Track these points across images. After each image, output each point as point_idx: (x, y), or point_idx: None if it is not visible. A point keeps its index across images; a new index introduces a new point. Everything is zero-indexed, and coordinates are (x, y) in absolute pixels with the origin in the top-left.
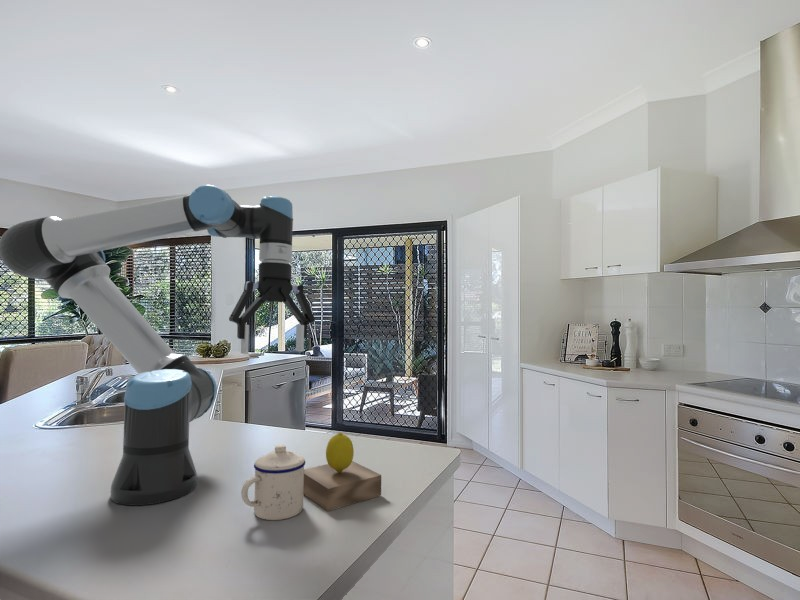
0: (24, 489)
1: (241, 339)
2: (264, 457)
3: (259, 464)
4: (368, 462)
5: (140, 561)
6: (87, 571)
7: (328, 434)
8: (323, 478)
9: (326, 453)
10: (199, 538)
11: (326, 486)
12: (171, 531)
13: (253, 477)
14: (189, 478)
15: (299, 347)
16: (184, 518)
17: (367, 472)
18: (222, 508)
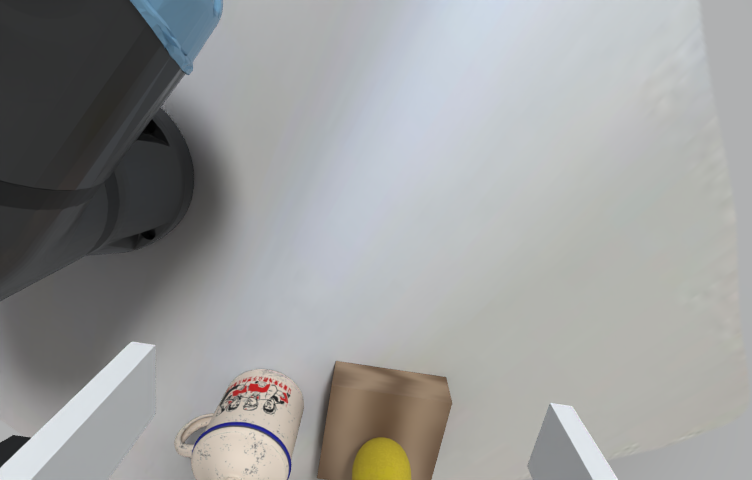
0: None
1: (59, 417)
2: (207, 464)
3: (192, 469)
4: (547, 341)
5: (60, 401)
6: (2, 382)
7: (701, 60)
8: (340, 442)
9: (354, 466)
10: None
11: (320, 470)
12: (107, 354)
13: (188, 453)
14: (156, 229)
15: (543, 474)
16: (133, 328)
17: (419, 471)
18: (196, 335)
